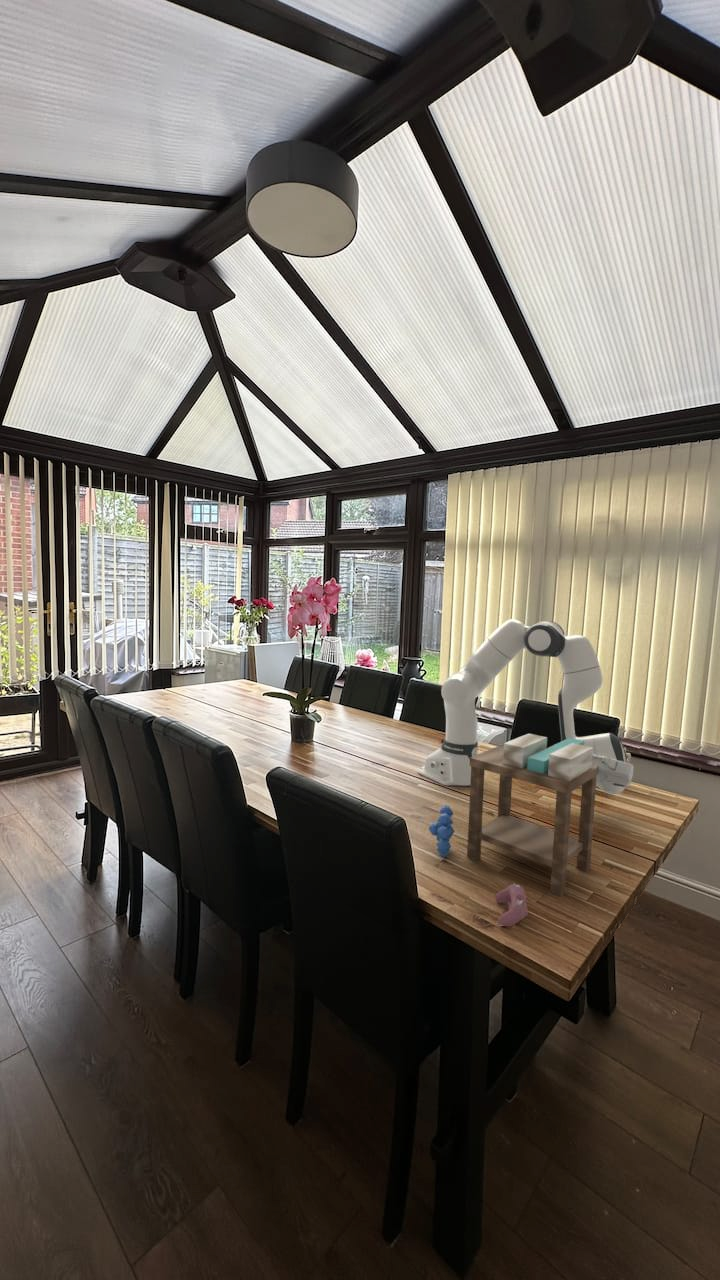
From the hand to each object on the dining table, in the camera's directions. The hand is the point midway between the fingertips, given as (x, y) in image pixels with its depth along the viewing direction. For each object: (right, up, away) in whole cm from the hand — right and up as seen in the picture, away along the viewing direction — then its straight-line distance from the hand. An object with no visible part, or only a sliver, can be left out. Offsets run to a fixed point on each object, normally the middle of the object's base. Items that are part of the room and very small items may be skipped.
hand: (586, 755), depth 147 cm
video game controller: (-32, -26, -36) cm, 55 cm away
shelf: (-21, -24, -14) cm, 35 cm away
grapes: (-42, -23, -10) cm, 49 cm away
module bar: (-14, +2, -15) cm, 21 cm away
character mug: (+28, -19, +43) cm, 54 cm away
